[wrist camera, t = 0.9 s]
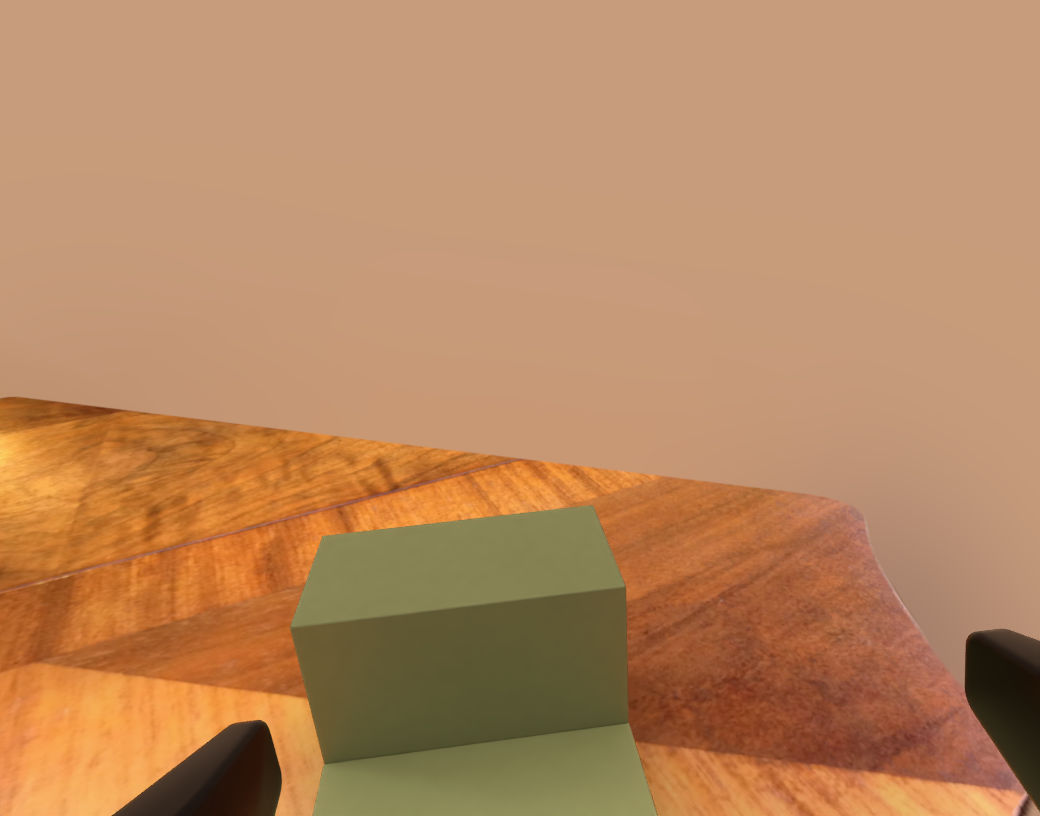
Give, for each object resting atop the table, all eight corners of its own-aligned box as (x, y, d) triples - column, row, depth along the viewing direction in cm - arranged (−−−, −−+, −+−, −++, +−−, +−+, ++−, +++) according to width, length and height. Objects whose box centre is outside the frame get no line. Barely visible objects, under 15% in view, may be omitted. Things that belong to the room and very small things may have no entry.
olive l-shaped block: (757, 1207, 15) (784, 975, 12) (243, 1302, 15) (126, 1082, 11) (599, 662, 32) (593, 504, 29) (356, 694, 31) (321, 535, 28)
